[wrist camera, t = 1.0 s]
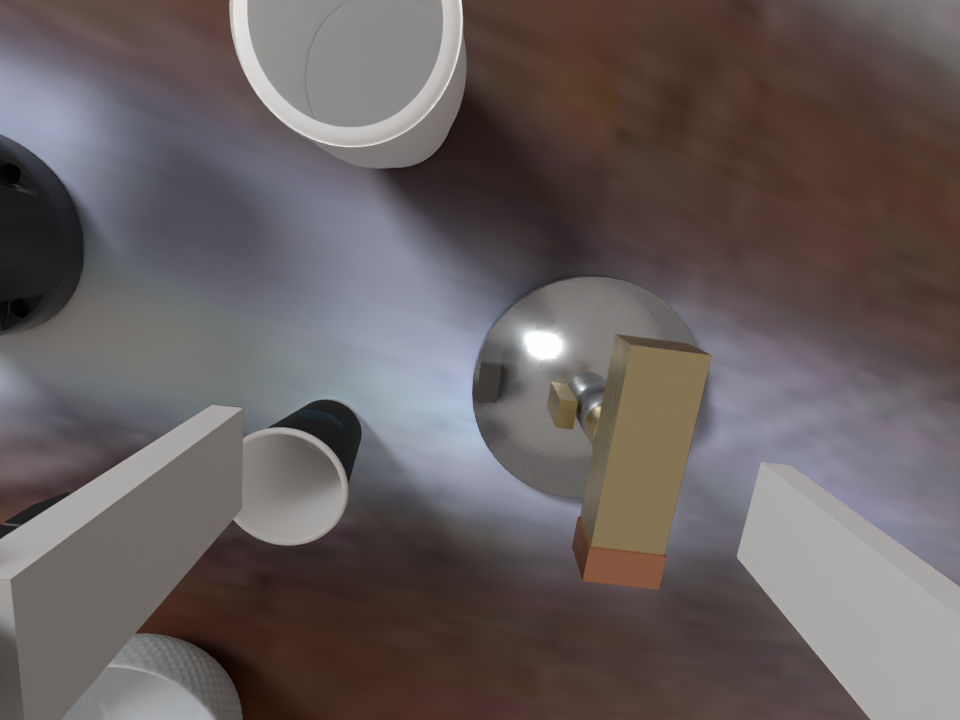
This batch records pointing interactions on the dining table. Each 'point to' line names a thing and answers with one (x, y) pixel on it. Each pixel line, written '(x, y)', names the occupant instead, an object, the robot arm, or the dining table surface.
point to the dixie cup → (299, 473)
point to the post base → (558, 372)
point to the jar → (357, 72)
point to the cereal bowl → (159, 685)
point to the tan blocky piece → (634, 457)
